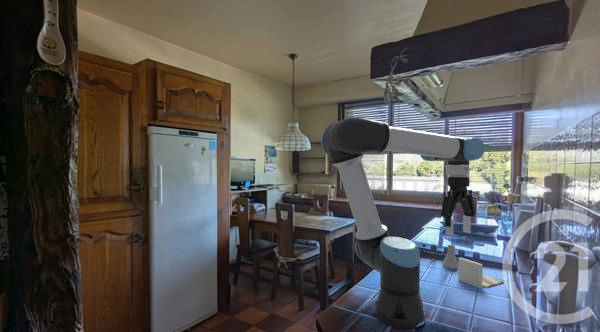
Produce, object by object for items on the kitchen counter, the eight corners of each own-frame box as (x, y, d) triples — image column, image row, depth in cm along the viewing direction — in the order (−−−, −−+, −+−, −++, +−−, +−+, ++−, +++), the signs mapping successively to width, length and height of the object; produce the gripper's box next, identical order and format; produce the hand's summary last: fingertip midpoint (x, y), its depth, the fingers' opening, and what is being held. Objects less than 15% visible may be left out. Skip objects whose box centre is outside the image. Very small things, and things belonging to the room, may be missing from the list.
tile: (479, 288, 111) (479, 264, 111) (458, 279, 119) (458, 258, 119) (482, 287, 112) (482, 264, 112) (460, 279, 120) (461, 257, 120)
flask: (463, 269, 130) (463, 247, 130) (447, 269, 131) (447, 247, 131) (454, 264, 138) (455, 243, 138) (439, 264, 138) (439, 243, 138)
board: (486, 287, 111) (486, 286, 111) (459, 277, 121) (459, 276, 121) (503, 283, 116) (503, 281, 116) (476, 273, 126) (476, 272, 126)
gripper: (447, 177, 104) (447, 239, 104) (485, 176, 114) (485, 232, 114) (430, 176, 111) (430, 234, 111) (467, 175, 120) (467, 229, 120)
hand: (458, 233), depth 112 cm, fingers open, 9 cm apart
